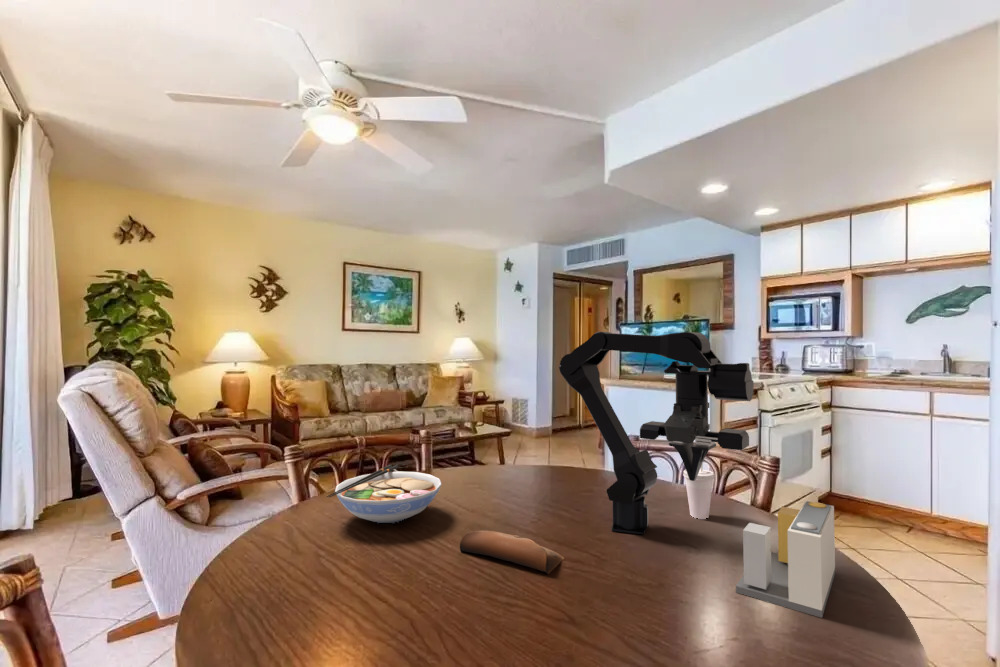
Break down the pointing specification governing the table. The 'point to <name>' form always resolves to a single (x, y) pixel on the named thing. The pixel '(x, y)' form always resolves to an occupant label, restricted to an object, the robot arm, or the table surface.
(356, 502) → the ramen bowl
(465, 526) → the table surface
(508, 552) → the sunglasses case
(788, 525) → the amber block
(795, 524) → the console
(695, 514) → the smoothie
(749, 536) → the light grey block
